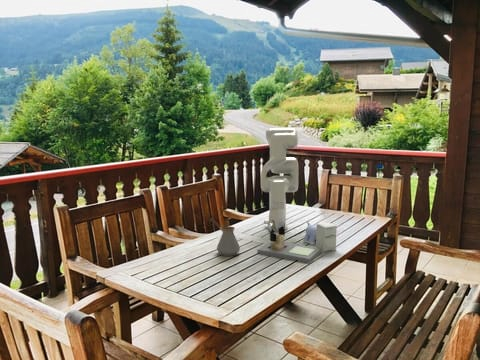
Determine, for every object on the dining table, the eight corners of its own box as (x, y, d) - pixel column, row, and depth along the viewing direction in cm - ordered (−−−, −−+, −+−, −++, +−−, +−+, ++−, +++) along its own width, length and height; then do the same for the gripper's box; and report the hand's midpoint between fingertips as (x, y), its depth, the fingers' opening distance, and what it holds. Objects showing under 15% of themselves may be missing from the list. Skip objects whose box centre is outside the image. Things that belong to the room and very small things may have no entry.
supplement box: (324, 252, 205) (324, 227, 203) (315, 247, 211) (316, 223, 209) (336, 249, 208) (337, 225, 206) (327, 245, 214) (328, 221, 212)
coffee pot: (244, 254, 203) (244, 224, 200) (225, 259, 196) (224, 228, 194) (220, 243, 220) (220, 215, 217) (202, 247, 213) (201, 219, 211)
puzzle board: (257, 253, 204) (257, 248, 203) (271, 244, 217) (271, 240, 217) (309, 263, 190) (309, 258, 190) (321, 252, 204) (321, 248, 203)
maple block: (270, 251, 206) (270, 236, 205) (274, 248, 210) (275, 233, 209) (279, 253, 203) (279, 237, 202) (283, 250, 208) (284, 235, 206)
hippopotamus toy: (317, 247, 212) (318, 229, 210) (299, 239, 225) (299, 222, 223) (333, 243, 217) (333, 226, 216) (314, 236, 230) (314, 219, 229)
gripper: (278, 201, 212) (278, 233, 215) (262, 207, 197) (262, 242, 200) (291, 202, 208) (291, 235, 211) (276, 209, 194) (276, 244, 196)
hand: (277, 238), depth 205 cm, fingers open, 9 cm apart
